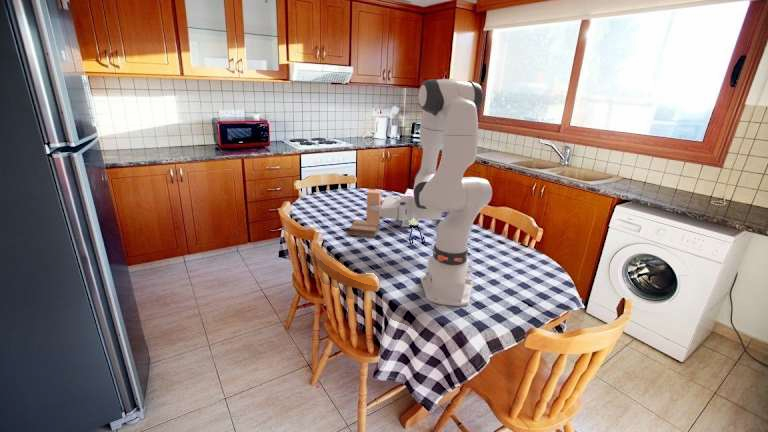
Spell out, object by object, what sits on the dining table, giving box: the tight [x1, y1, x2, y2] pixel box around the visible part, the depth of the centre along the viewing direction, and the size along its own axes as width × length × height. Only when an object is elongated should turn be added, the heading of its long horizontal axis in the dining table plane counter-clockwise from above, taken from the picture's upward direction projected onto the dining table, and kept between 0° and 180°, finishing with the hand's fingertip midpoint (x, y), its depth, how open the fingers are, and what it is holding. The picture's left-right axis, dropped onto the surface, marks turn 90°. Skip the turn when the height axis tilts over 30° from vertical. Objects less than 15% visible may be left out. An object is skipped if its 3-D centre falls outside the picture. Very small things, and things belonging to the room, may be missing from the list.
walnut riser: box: [348, 219, 380, 238], centre depth 179 cm, size 12×12×3 cm
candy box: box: [400, 188, 417, 229], centre depth 191 cm, size 14×6×16 cm, turn 168°
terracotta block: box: [365, 189, 382, 226], centre depth 159 cm, size 5×5×14 cm
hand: (371, 204), depth 159 cm, fingers closed on terracotta block, 5 cm apart
